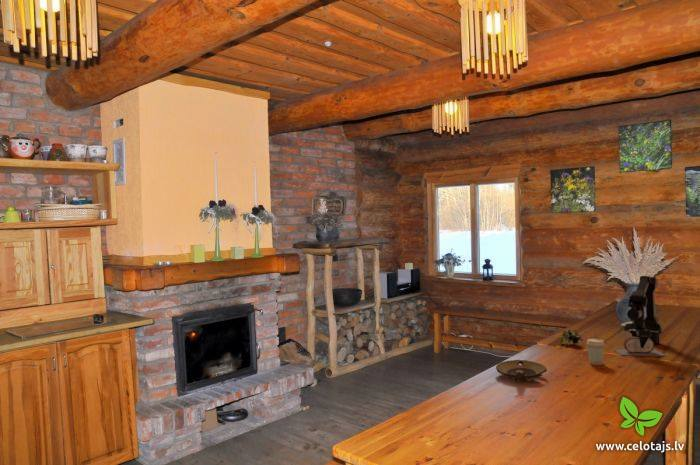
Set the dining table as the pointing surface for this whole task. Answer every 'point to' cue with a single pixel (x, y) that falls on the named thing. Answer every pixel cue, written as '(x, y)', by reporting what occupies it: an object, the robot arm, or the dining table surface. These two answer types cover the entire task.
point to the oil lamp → (521, 369)
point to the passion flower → (570, 337)
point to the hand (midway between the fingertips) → (638, 345)
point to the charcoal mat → (626, 353)
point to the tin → (638, 345)
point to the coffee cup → (595, 351)
